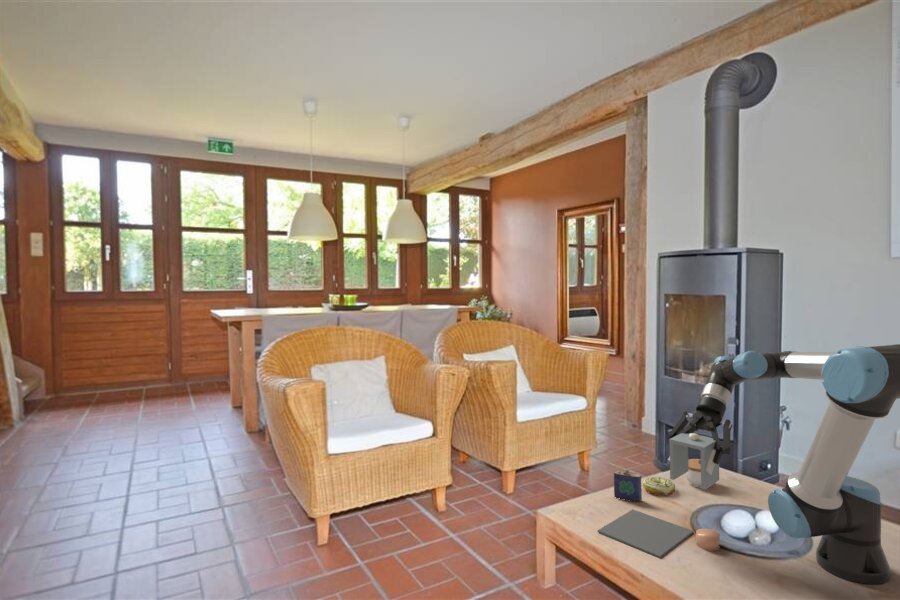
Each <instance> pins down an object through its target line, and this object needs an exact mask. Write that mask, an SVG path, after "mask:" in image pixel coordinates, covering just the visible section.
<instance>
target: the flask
mask: <svg viewBox="0 0 900 600" xmlns="http://www.w3.org/2000/svg"><path fill="white" fill-rule="evenodd" d="M630 470H631V469H629V468H624V471H622V470H617V471H614V472H613V494H614V495H613V496H614V498H615V497H616V498H615V499H617V498H620V499H619V500H621V499H625V500H624V501H628V500H630V501H629V502H634V501H635V502H634V503H641V502H642V500H643V499H642V494H643V493H642V492H643V489H642V476H641V474H638V473H636V474H635V473H630Z"/></svg>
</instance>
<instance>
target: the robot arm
mask: <svg viewBox="0 0 900 600" xmlns="http://www.w3.org/2000/svg"><path fill="white" fill-rule="evenodd" d="M781 378H783V379H784V378H786V379H787V378H788V379H790V378H791V379H804V380H806V379H808V380H820V381H821V380H823V381H821V382H822V387H823V388H824V390H825V396H826V398H827V399H828V400H829V402H828V403H829V404H827V405H828V406H827V408H826V411H825V412H824V415H823V417H822V419H821V421H820V423H819V426H818V428H817V430H816V433H815V436H814V437H813V440H812V442H811V444H810V446H809V449H808V450H807V453H806V455H805V458H804V461H803V462H802V465H801V467H800V469H799V471H798V472H794V473H791V474H790V475H789V476H788V478H787V480H786V482H785V485H784V486H783V488H776V489H774V490H772V491H770V493H769V494H768V497H767V506H768V510H769V513H770V515H771V517H772V520H773V522H774V523H775V524H776V526H777V527H778V528H779V529H780V530H781V531H782V533H783V534H785V535H787V536H788V537H790V538H794V539H809V538H815V537H821V538H820V540H819V542H818V544H817V547H816V552H815V559H816V562H817V564H819V566H820V567H821V568H823V569H824V570H825V571H827V572H828V573H831V574H833V575H834V576H836V577H838V578H842V579H845V580H847V581H850V582H851V581H852V582H855V583H859V584H860V583H861V584H866V585H867V584H868V585H881V584H884V583H887V582H888V581H889V580H890V579H891V567H890V565H889V562H888V560H887V556H886V554H885V551H884V549H883V547H882V541H881V539H882V505H883V504H882V502H881V501H882V499H881V492H880V490H879V489H878V488H877V487H876V486H875V485H874V484H872V483H870V482H867V481H865V480H862V479H860V478H856V477H854V476H853V477H852V476H848V475H849V473H850V471H851V469H852V467H853V465H854V463H855V460H856V459H857V457H858V455H859V452H860V451H861V449H862V447H863V445H864V443H865V441H866V438H867V437H868V435H869V433H870V431H871V429H872V427H873V426H874V423H875V421H876V419H878V420H879V419H884V418H887V416H888V415H889V413H890V412H891V410H892V408H893V406H894V404H895V402H896V400H897V399H900V344H898V343H896V344H888V345H877V346H876V345H875V346H859V345H858V346H853V347H848V348H843V349H840V350H836V351H796V350H795V351H792V350H785V351H778V352H766V353H765V352H764V353H762V352H758V351H756V350H748V351H744V352H740V354H737V355H736V356H734V357H732V356H729V355H720V356H717V357H716V358H715V360H714V361H713V363H712V364H711V368H710V371H709V373H708V377H707V379H706V382H705V385H704V386H703V390H702V391H701V394H700V398H699V400H698V403H697V405H696V408H695V411H694V412H693V413H690V412H687V410H684V411H683V412H682V415H681V417H680V419H679V420H678V421H677V422H676V424H675V425H674V426H673V428H672V429H671V430H670V431H669V432H668V434H667V436H668V438H669V439H671V438H673V437H675V436H677V435H679V434H681V433H683V434H684V433H695V432H698V430H702V431H704V430H705V431H707V432H710V434H711V436H712V437H711V438H713V440H714V441H716V442H715V449H716V451H715V450H712V453H711V455H710V458H709V461H708V464H707V467H706V472H707V473H708V474H709V475H712V472H713V469H714V466H715V464H719V465H720V462H721V458H722V456H723V455H727V456H728V455H731V452H732V450H731V447H732V445H731V430H732V428H733V424H732V422H731V420H730V419H726V420H725V419H723V418H724V416H725V412H726V410H727V406H728V405H729V401H730V398H731V395H732V393H733V390H734V388H735V387H736V385H740V384H742V383H745V382H748V381H753V380H754V381H755V380H767V379H768V380H769V379H781ZM688 423H689V424H688ZM720 426H722V443H721V440H720V437H719V433H718V429H717V428H718V427H720ZM668 461H669V462H670V456H669V457H668Z"/></svg>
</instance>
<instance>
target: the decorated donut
mask: <svg viewBox="0 0 900 600" xmlns="http://www.w3.org/2000/svg"><path fill="white" fill-rule="evenodd" d="M642 486H643V488H644V490H645V491H646V492H647V493H649V494H653V495H656V496H669V495H672V494H674V493H675V491H676V484H675V483H674V482H673V480H671V479H670V480H669V479H668V478H664V477H661V476H649V477H646V478H644V479H643V482H642Z"/></svg>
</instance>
